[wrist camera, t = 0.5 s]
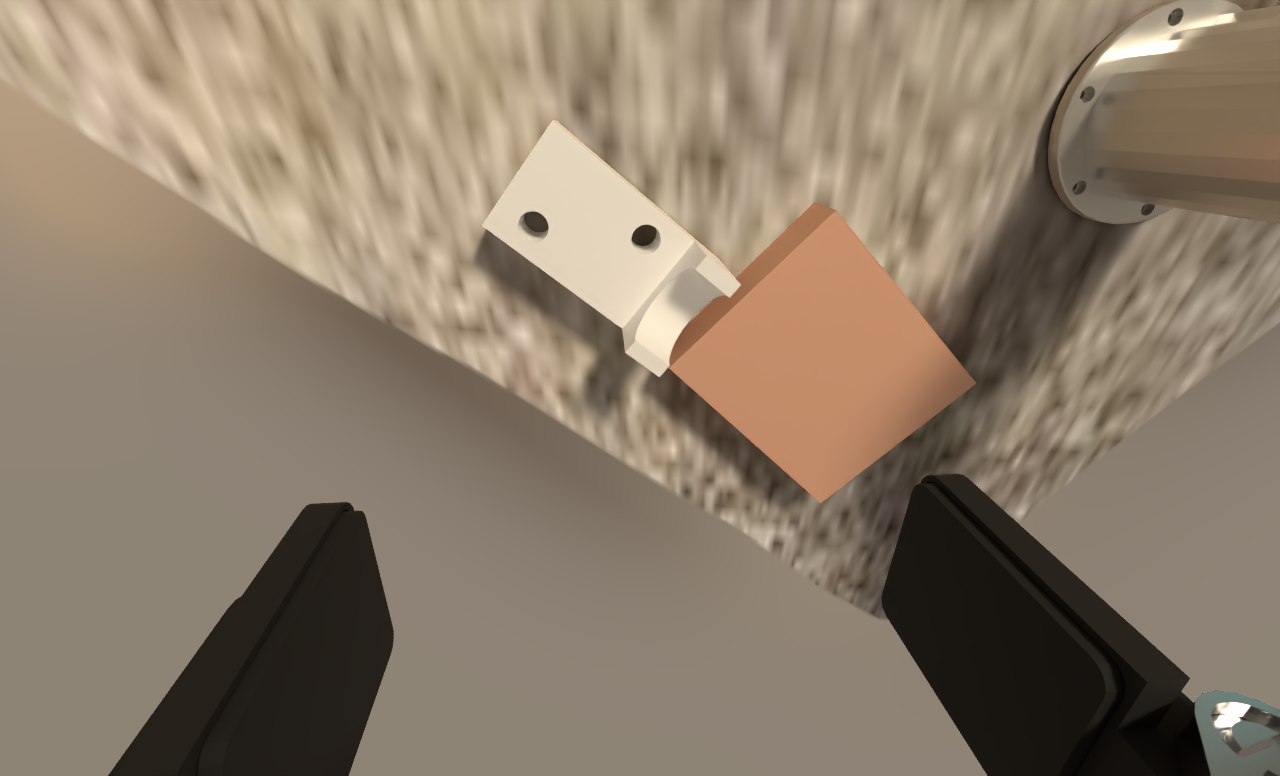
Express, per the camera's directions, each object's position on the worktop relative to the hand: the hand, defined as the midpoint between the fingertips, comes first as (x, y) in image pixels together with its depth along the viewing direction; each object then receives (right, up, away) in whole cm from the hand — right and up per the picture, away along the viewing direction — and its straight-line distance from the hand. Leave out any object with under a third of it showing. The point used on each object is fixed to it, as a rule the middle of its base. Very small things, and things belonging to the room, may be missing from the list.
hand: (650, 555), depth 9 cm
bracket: (-2, +13, +27) cm, 30 cm away
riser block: (+12, +5, +31) cm, 34 cm away
